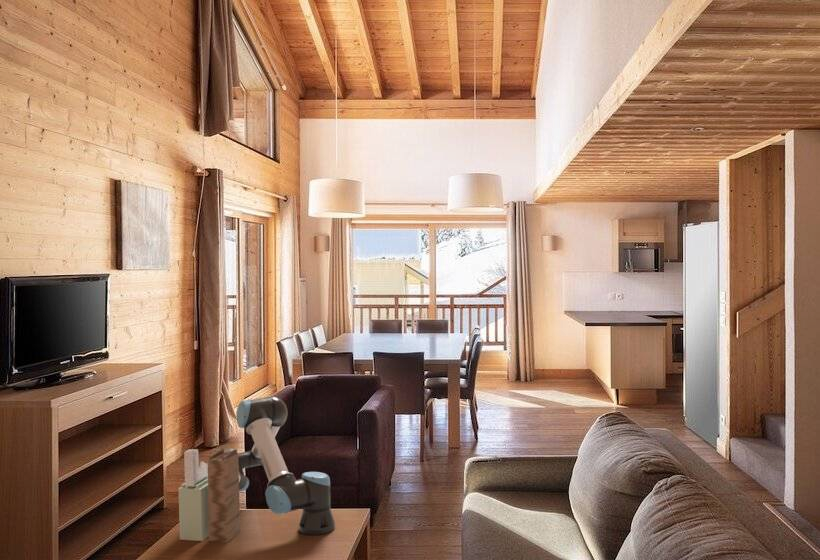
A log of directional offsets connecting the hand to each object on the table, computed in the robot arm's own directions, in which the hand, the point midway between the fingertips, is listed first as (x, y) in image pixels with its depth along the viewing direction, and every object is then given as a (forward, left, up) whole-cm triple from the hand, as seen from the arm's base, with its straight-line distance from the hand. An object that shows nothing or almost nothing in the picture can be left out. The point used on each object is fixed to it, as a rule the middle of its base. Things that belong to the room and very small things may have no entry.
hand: (205, 464), depth 277 cm
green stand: (0, +7, -27) cm, 28 cm away
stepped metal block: (0, +3, -5) cm, 6 cm away
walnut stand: (-12, +7, -27) cm, 30 cm away
